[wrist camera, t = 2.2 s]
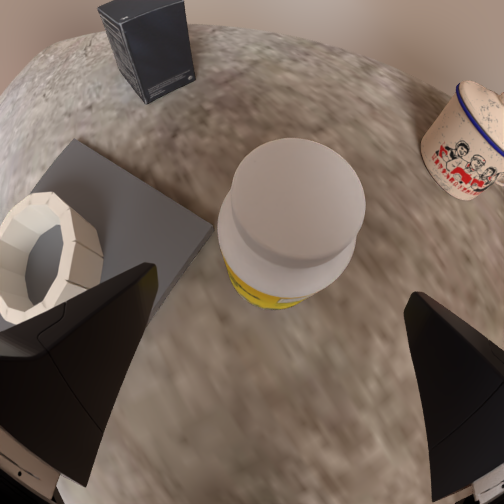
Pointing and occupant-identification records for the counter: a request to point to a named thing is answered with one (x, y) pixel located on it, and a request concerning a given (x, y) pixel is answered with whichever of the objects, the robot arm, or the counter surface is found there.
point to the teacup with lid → (467, 142)
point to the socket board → (116, 222)
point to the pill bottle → (289, 222)
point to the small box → (150, 44)
